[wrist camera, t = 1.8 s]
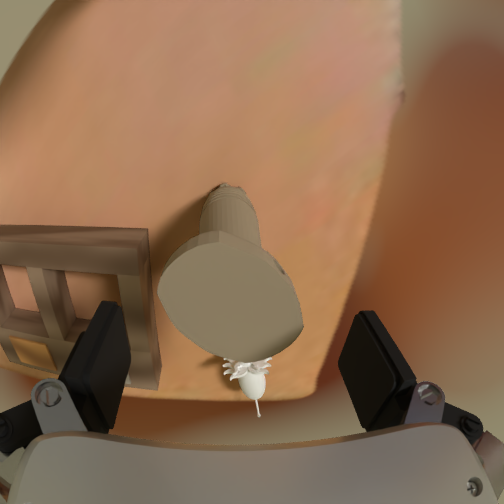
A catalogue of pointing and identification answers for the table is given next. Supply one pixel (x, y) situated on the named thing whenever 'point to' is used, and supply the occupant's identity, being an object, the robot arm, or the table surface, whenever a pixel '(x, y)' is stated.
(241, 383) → the white animal figurine
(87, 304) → the table surface
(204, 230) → the handle
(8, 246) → the socket block
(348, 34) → the table surface
